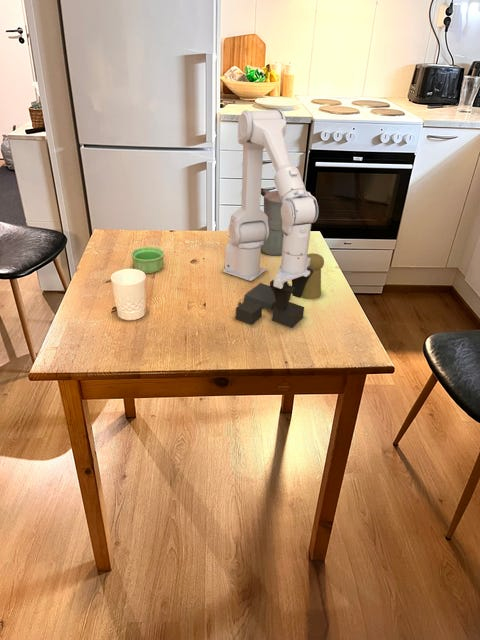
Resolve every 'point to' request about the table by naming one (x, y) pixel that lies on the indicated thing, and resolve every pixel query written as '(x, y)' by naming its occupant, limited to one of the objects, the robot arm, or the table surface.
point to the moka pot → (273, 223)
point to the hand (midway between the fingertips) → (289, 302)
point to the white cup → (129, 293)
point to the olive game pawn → (314, 277)
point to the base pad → (262, 296)
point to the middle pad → (288, 315)
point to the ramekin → (148, 259)
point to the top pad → (248, 312)
